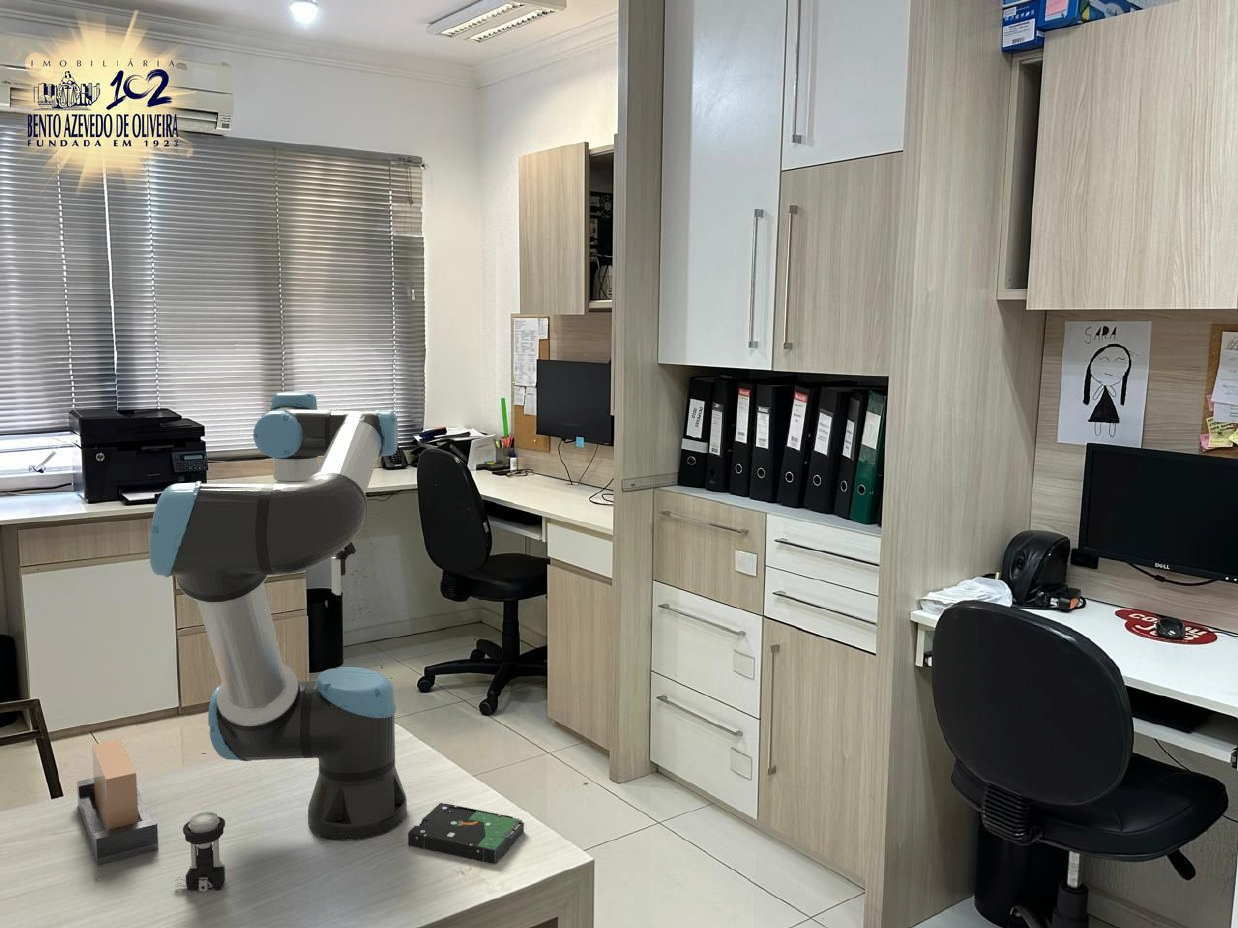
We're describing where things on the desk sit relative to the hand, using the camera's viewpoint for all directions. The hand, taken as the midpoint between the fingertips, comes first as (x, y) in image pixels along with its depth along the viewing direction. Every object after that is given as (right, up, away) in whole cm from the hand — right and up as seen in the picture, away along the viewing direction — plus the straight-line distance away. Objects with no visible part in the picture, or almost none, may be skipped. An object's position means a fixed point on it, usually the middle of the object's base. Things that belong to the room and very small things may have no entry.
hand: (298, 598), depth 174 cm
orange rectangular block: (-20, -31, -23) cm, 44 cm away
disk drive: (+34, -34, -24) cm, 54 cm away
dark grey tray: (-20, -32, -23) cm, 44 cm away
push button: (-1, -35, -39) cm, 52 cm away
